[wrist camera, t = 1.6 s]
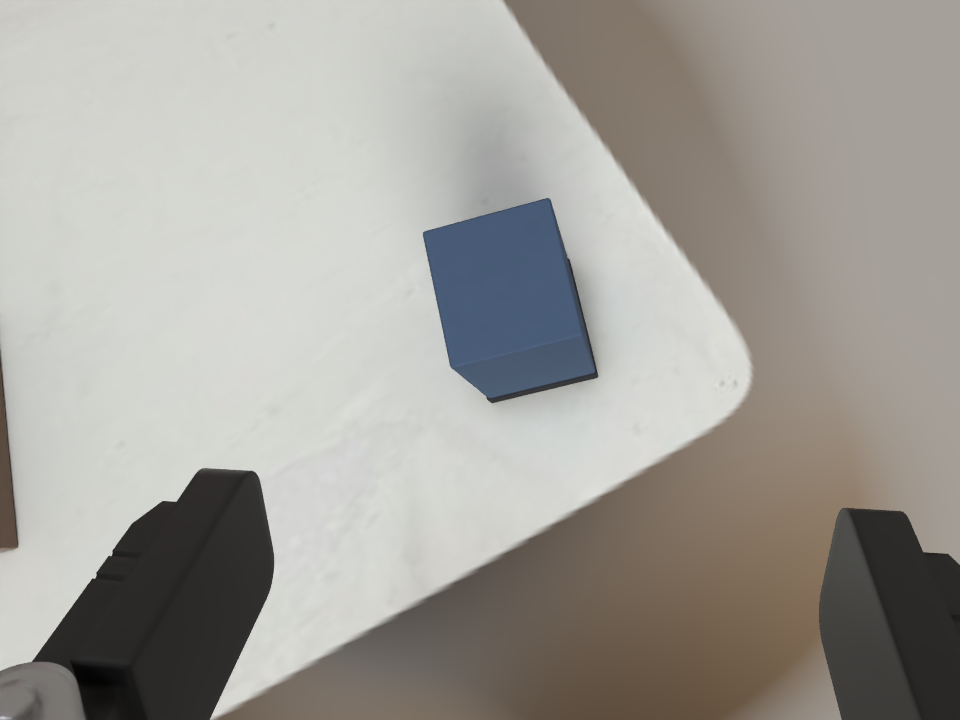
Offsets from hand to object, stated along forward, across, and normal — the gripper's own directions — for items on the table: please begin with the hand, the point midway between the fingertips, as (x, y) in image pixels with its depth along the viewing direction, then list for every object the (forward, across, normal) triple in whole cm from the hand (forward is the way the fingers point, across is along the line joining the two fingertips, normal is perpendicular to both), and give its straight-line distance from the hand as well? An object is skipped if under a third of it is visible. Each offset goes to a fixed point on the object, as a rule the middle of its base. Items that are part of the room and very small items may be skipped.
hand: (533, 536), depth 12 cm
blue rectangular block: (+23, +2, +9) cm, 25 cm away
